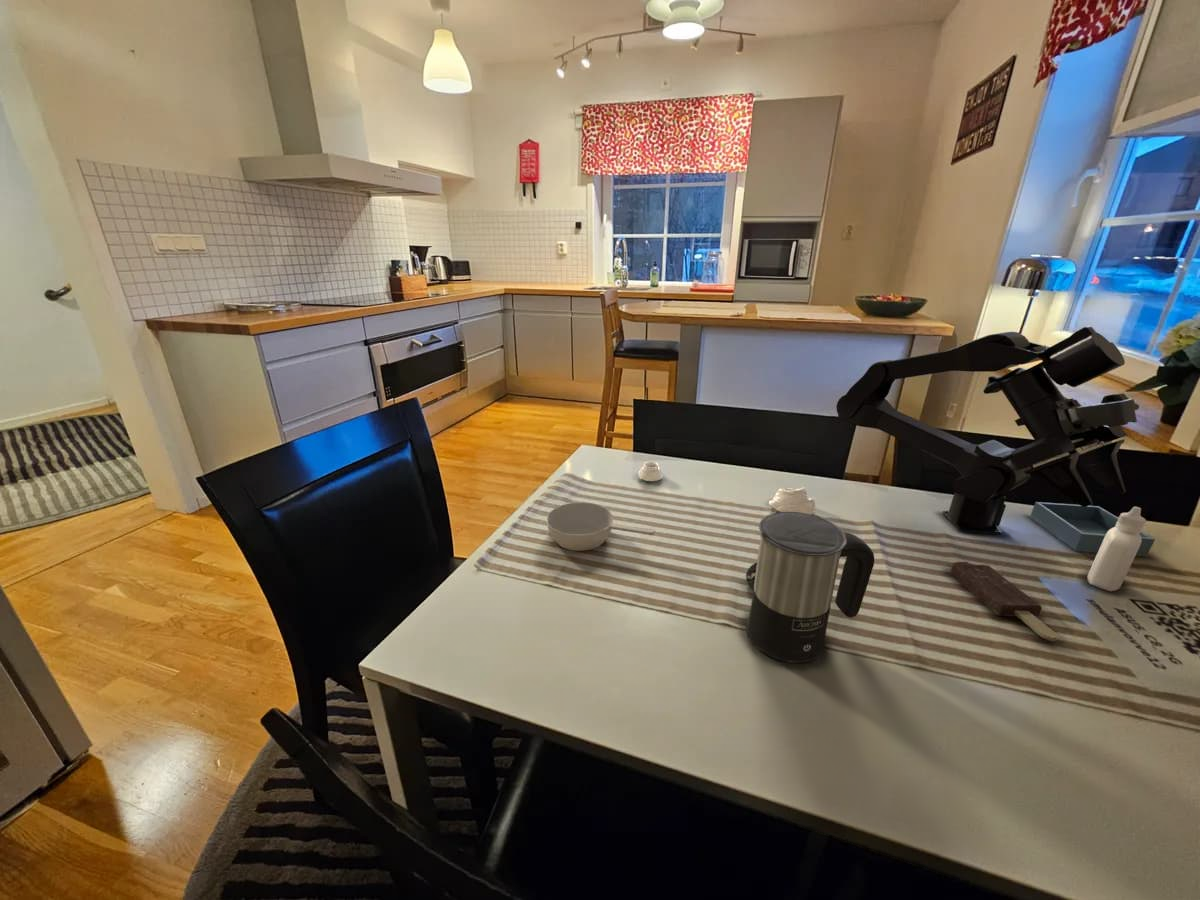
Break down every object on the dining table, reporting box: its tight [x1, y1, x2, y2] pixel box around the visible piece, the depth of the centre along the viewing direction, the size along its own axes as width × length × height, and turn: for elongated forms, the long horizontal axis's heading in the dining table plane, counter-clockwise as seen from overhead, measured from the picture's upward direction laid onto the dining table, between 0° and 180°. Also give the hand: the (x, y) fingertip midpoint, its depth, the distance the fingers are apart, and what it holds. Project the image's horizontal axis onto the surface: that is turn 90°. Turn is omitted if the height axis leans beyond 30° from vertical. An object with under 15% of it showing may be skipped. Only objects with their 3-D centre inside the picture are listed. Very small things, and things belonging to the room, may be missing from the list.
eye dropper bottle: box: [1087, 506, 1147, 592], centre depth 68 cm, size 4×6×12 cm
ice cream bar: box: [949, 561, 1058, 642], centre depth 65 cm, size 5×2×15 cm
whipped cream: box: [768, 486, 816, 515], centre depth 89 cm, size 8×7×5 cm
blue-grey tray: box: [1029, 501, 1156, 557], centre depth 82 cm, size 10×11×3 cm
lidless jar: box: [638, 461, 664, 482], centre depth 102 cm, size 5×3×5 cm
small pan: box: [546, 501, 656, 552], centre depth 79 cm, size 11×18×4 cm, turn 68°
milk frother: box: [745, 511, 875, 664], centre depth 61 cm, size 14×16×15 cm
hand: (1104, 499), depth 69 cm, fingers open, 9 cm apart
